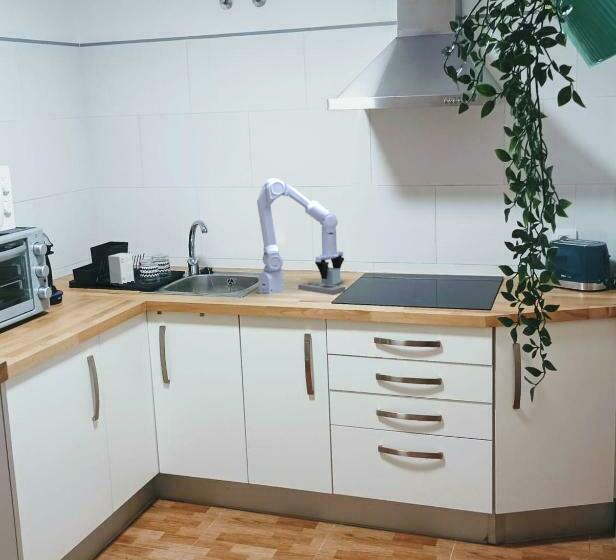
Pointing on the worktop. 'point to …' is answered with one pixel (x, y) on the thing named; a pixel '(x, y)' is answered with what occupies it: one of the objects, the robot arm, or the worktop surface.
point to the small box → (121, 268)
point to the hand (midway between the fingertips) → (330, 277)
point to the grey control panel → (321, 288)
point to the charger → (332, 276)
